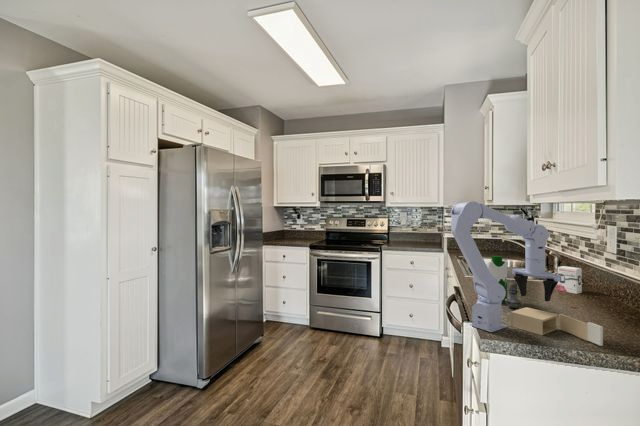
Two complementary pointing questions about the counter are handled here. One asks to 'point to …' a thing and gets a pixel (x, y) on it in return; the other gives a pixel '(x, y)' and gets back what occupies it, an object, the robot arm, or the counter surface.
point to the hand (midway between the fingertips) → (535, 298)
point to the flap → (582, 329)
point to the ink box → (570, 279)
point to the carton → (534, 320)
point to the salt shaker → (512, 297)
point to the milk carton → (498, 271)
